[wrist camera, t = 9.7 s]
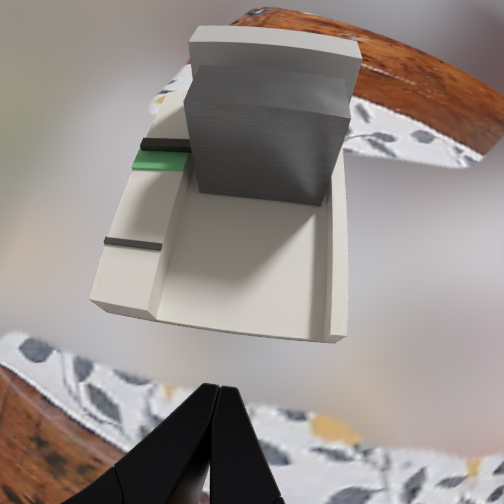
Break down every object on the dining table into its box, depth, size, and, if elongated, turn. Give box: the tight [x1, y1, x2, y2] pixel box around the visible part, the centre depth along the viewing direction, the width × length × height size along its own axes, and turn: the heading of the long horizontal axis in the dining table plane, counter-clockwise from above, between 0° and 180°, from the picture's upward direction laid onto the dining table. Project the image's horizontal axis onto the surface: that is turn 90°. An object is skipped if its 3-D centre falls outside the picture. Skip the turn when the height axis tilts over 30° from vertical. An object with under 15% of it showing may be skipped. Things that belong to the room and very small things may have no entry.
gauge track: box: [89, 26, 362, 343], centre depth 20 cm, size 20×16×10 cm
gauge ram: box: [140, 65, 351, 206], centre depth 20 cm, size 4×14×9 cm, turn 83°
